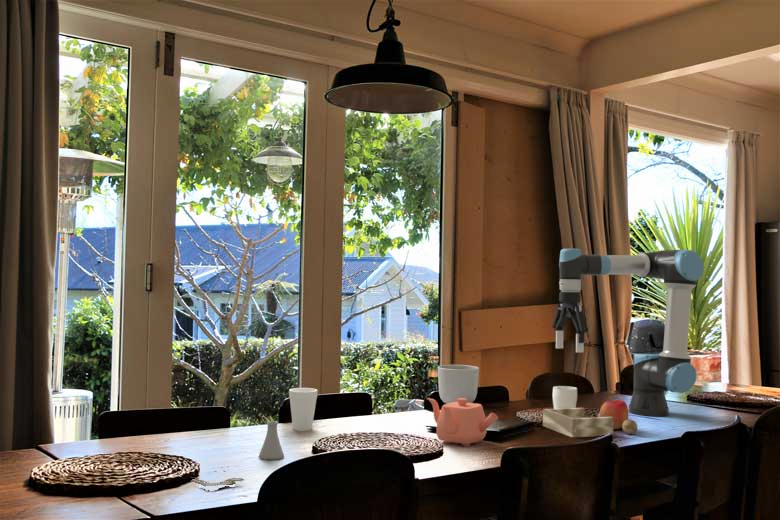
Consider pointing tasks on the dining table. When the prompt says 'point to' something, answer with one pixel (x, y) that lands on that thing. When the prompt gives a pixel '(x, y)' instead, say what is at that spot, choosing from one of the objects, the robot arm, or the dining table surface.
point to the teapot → (461, 422)
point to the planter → (457, 382)
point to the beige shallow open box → (576, 422)
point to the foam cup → (302, 407)
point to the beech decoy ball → (629, 426)
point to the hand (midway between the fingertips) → (569, 350)
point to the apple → (615, 412)
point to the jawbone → (226, 482)
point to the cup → (564, 397)
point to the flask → (271, 444)
